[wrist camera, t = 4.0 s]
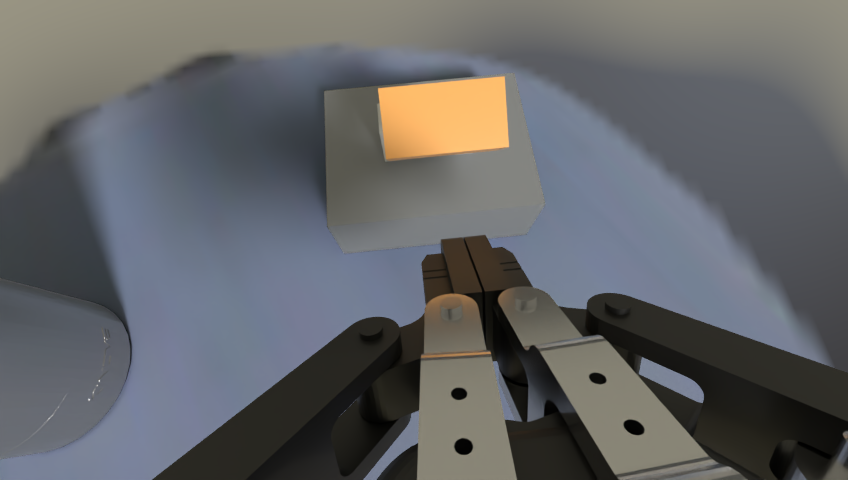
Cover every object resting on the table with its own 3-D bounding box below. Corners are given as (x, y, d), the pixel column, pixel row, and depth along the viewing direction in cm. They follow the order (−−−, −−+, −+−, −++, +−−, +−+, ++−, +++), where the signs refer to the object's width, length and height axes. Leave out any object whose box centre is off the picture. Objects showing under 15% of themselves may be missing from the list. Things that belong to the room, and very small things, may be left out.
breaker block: (344, 253, 28) (313, 204, 20) (339, 135, 31) (311, 56, 24) (526, 234, 28) (561, 179, 21) (501, 119, 32) (524, 36, 24)
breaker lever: (395, 166, 24) (386, 159, 14) (390, 125, 24) (377, 88, 14) (465, 159, 24) (509, 146, 14) (462, 118, 24) (504, 76, 14)
